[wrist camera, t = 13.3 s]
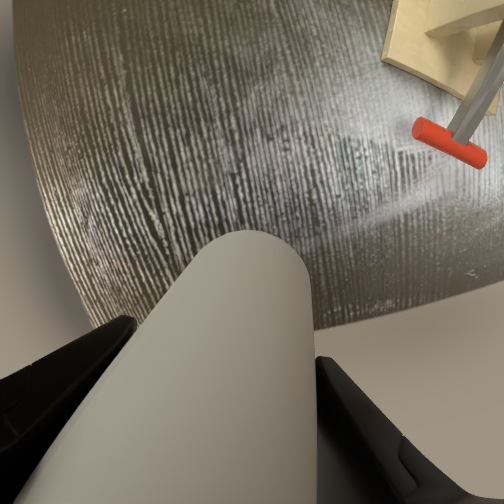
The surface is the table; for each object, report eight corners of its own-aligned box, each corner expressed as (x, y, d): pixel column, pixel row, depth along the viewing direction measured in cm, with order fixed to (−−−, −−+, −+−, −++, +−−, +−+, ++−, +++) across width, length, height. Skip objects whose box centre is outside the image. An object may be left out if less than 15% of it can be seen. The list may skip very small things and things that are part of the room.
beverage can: (308, 333, 14) (294, 637, 2) (199, 329, 14) (78, 586, 3) (311, 224, 12) (336, 648, 1) (186, 225, 13) (-67, 488, 1)
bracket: (485, 115, 17) (588, 132, 8) (380, 60, 16) (470, 27, 7) (499, 8, 13) (585, -10, 4) (401, -51, 12) (469, -112, 3)
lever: (468, 156, 16) (482, 179, 15) (406, 126, 16) (418, 148, 14) (547, 9, 7) (572, 21, 5) (484, -44, 7) (508, -41, 5)
